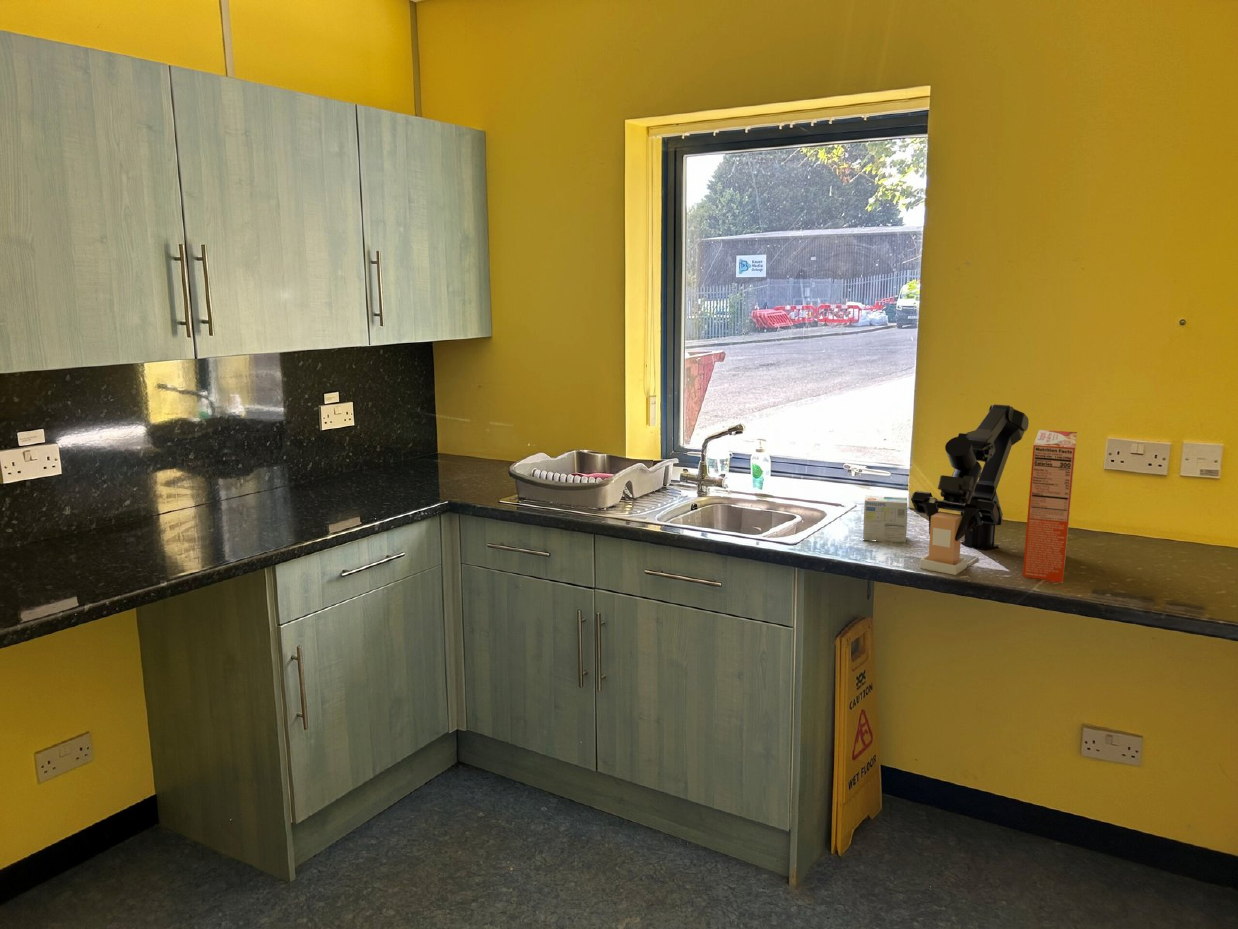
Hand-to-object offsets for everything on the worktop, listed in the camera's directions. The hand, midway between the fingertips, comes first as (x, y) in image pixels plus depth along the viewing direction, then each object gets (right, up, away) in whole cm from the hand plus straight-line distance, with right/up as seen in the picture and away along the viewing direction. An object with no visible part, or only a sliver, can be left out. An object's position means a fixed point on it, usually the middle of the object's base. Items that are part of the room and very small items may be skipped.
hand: (943, 537), depth 209 cm
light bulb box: (-5, -3, +28) cm, 28 cm away
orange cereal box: (+25, -7, +4) cm, 26 cm away
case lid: (+6, -6, +9) cm, 12 cm away
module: (+1, -6, +2) cm, 6 cm away
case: (+1, -7, +2) cm, 8 cm away
